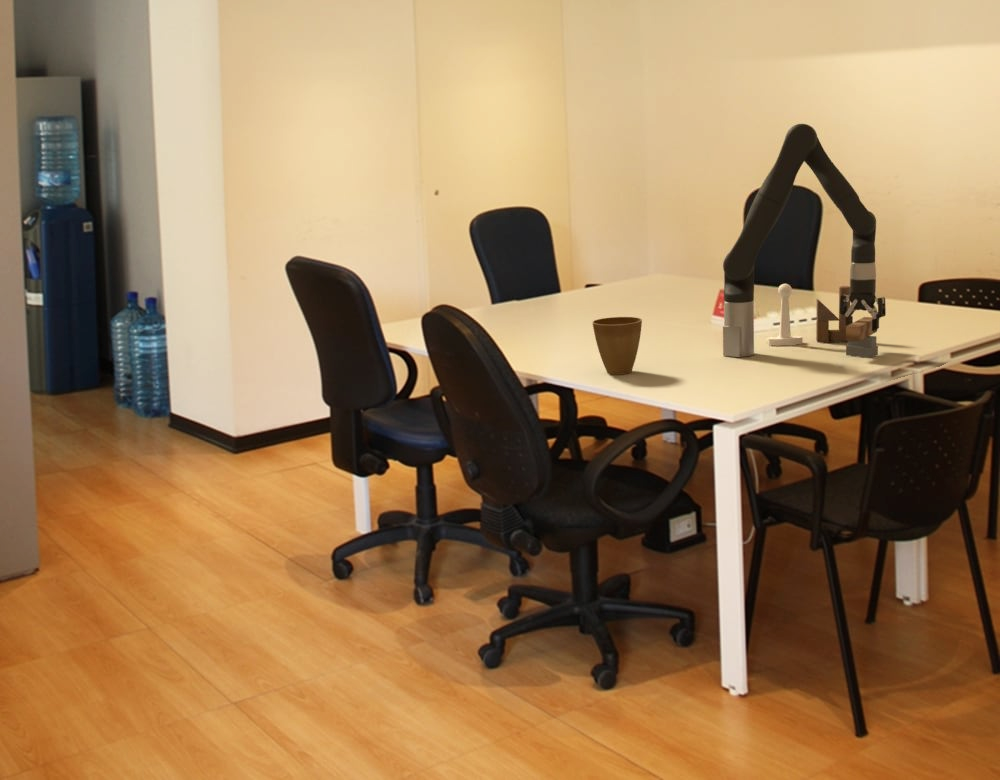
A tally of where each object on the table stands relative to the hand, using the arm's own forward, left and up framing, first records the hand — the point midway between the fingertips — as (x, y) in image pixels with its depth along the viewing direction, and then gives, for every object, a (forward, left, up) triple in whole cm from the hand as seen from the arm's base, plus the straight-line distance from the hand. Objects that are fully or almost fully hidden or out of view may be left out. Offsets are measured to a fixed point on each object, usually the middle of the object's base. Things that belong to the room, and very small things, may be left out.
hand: (862, 329), depth 384 cm
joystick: (+6, +31, -8) cm, 33 cm away
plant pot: (-58, +49, -8) cm, 77 cm away
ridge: (0, 0, -8) cm, 8 cm away
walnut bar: (0, 0, -2) cm, 2 cm away
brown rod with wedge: (+17, +19, -8) cm, 26 cm away
